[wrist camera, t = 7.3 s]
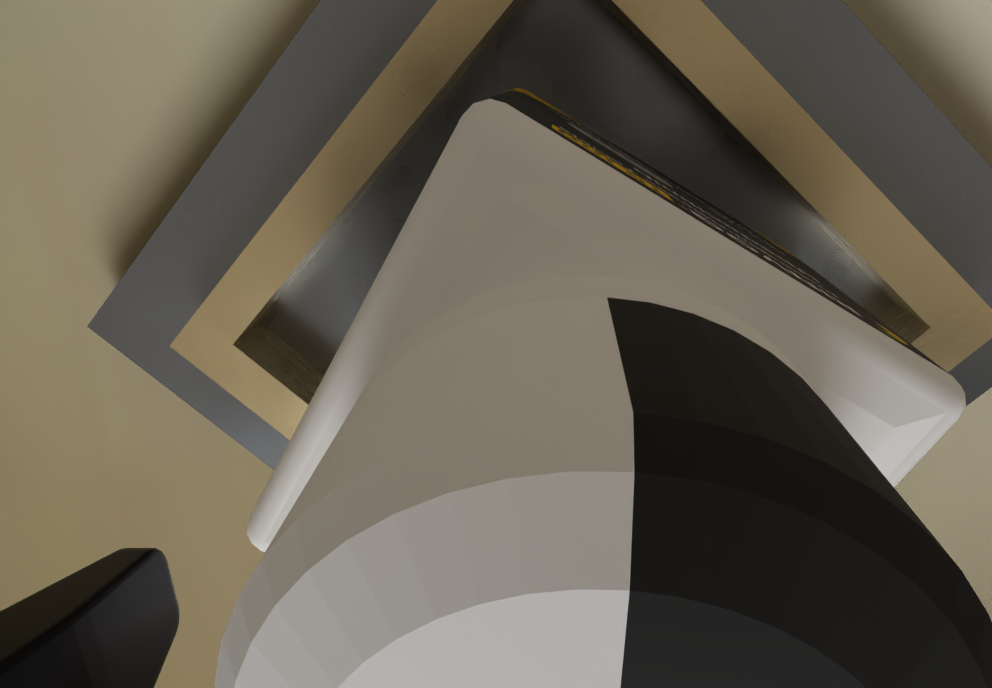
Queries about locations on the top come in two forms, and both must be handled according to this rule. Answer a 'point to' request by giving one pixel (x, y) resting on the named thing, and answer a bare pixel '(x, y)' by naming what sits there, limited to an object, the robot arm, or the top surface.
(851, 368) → the medicine bottle
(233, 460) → the top surface
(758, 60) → the picture frame
